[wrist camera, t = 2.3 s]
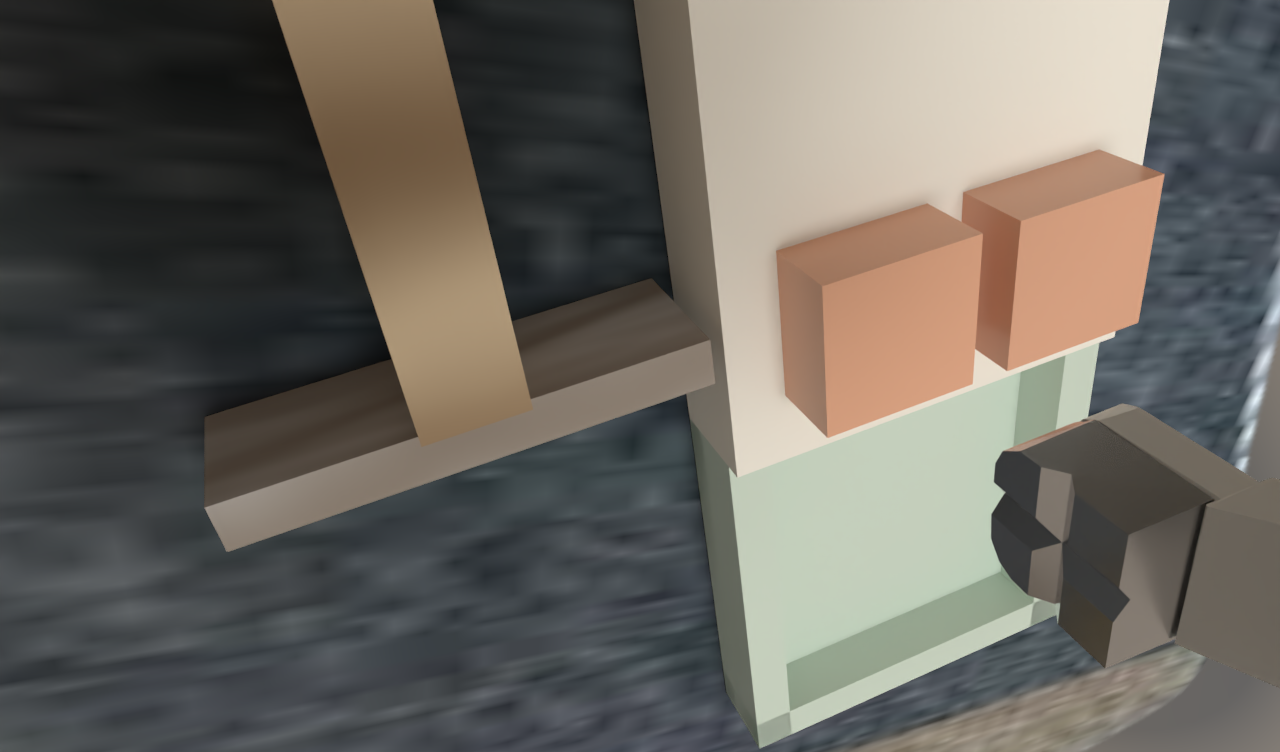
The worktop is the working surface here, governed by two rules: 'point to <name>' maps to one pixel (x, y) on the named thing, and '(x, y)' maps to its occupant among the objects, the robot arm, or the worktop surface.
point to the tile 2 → (1061, 254)
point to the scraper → (425, 303)
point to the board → (858, 150)
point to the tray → (873, 550)
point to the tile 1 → (879, 316)
